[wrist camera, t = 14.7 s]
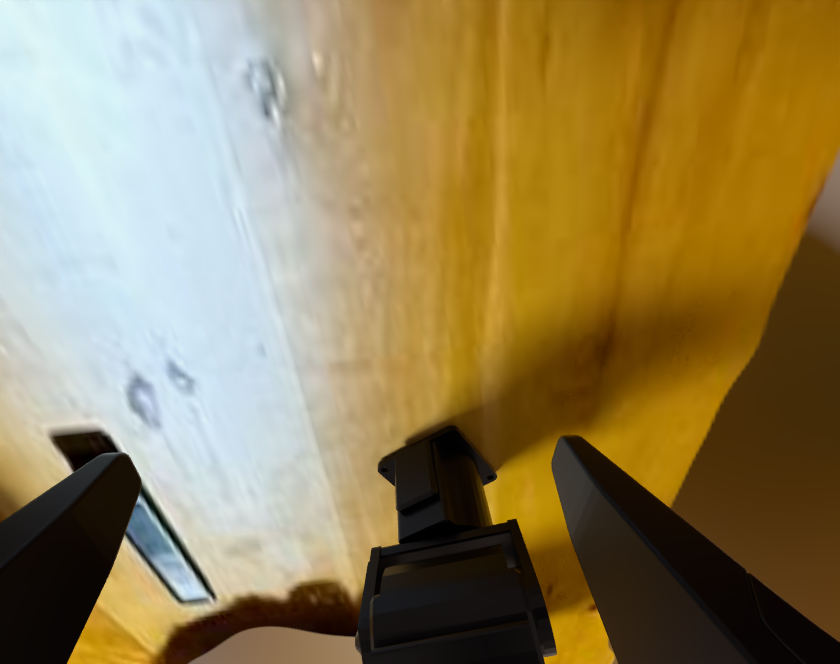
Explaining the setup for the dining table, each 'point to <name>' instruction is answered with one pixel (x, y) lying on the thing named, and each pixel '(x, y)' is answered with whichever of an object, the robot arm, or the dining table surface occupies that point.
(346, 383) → the dining table surface
